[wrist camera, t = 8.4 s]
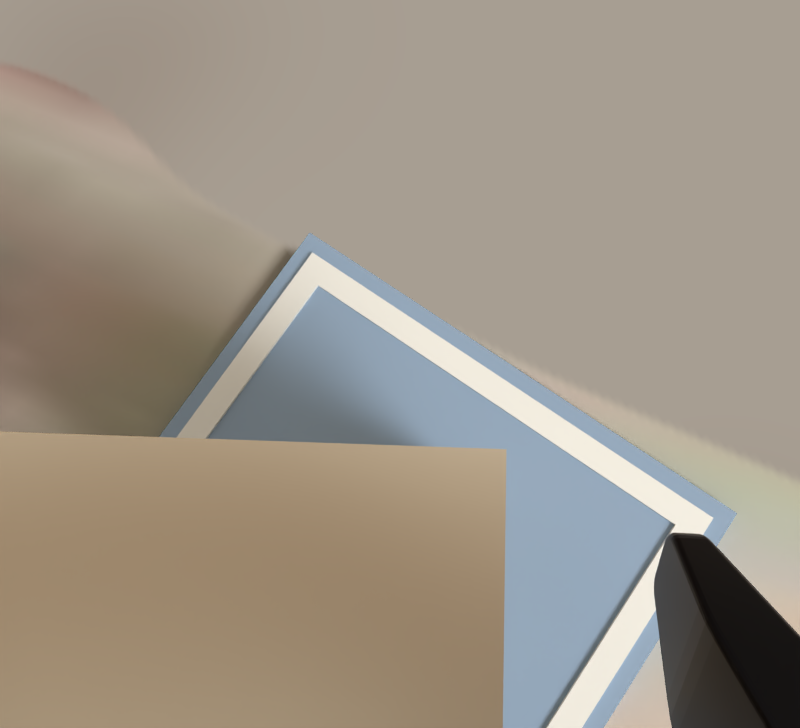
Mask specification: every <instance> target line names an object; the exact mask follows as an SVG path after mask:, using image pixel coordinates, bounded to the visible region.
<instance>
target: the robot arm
mask: <svg viewBox="0 0 800 728" xmlns="http://www.w3.org/2000/svg"><path fill="white" fill-rule="evenodd" d="M654 599H655V607H656V614H657V622H658V630H659V638H660V646H661V654H662V661H663V669H664V677H665V685H666V693H667V700H668V707H669V714H670V720H671V725H672V728H800V636H799V634H798V633H797V632H796V631H795V630H794V629H793V628H792V627H791V626H790V625H789V624H788V623H787V622H786V621H785V619H784V618H783V617H782V616H781V615H780V614H779V613H778V612H777V611H776V610H775V609H774V608H773V607H772V606H771V605H770V603H769V602H768V601H767V600H766V599H765V598H764V597H763V596H762V595H761V594H760V593H759V592H758V591H757V590H756V588H755V587H754V586H753V585H752V584H751V583H750V582H749V581H748V580H747V579H746V578H745V577H744V576H743V575H742V573H741V572H740V571H739V570H738V569H737V568H736V567H735V566H734V565H733V564H732V563H731V562H730V561H729V560H728V559H727V557H726V556H725V555H724V554H723V553H722V552H721V551H720V550H719V549H718V548H717V547H716V546H715V545H714V544H713V542H712V541H711V540H710V539H709V538H707V537H706V536H704V535H702V534H694V533H676V532H674V533H671V534H669V535H668V536H667V538H666V540H665V543H664V546H663V550H662V553H661V557H660V560H659V564H658V567H657V570H656V574H655V579H654Z"/></svg>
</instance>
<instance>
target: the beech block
mask: <svg viewBox="0 0 800 728" xmlns="http://www.w3.org/2000/svg"><path fill="white" fill-rule="evenodd" d="M505 525H506V449H487V448H459V447H430V446H402V445H373V444H344V443H316V442H287V441H259V440H230V439H202V438H173V437H144V436H116V435H87V434H59V433H30V432H2V431H0V728H503V677H504V601H505Z"/></svg>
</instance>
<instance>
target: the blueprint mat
mask: <svg viewBox="0 0 800 728" xmlns="http://www.w3.org/2000/svg"><path fill="white" fill-rule="evenodd" d="M159 437H173V438H202V439H230V440H259V441H287V442H316V443H344V444H373V445H402V446H430V447H459V448H487V449H506V525H505V601H504V677H503V728H604V726H605V725H606V723H607V722H608V720H609V718H610V717H611V715H612V714H613V712H614V710H615V709H616V707H617V705H618V704H619V702H620V701H621V699H622V697H623V696H624V694H625V693H626V691H627V689H628V688H629V686H630V685H631V683H632V681H633V680H634V678H635V677H636V675H637V673H638V672H639V670H640V669H641V667H642V665H643V664H644V662H645V661H646V659H647V657H648V656H649V654H650V652H651V651H652V649H653V648H654V646H655V644H656V643H657V641H658V640H659V630H658V622H657V614H656V607H655V599H654V579H655V574H656V570H657V567H658V564H659V560H660V557H661V553H662V550H663V546H664V543H665V540H666V538H667V536H668V535H669V534H671V533H674V532H676V533H694V534H702V535H704V536H706V537H707V538H709V539H710V540H711V541H712V542H713V544H714V545H715V546H716V547H717V545H718V543H719V542H720V540H721V538H722V537H723V535H724V534H725V532H726V530H727V529H728V527H729V526H730V524H731V522H732V521H733V519H734V518H735V516H736V514H737V513H736V512H734V511H733V510H731V509H730V508H728V507H727V506H725V505H723V504H722V503H720V502H719V501H717V500H716V499H714V498H713V497H711V496H710V495H708V494H707V493H705V492H704V491H702V490H701V489H699V488H698V487H696V486H695V485H693V484H692V483H690V482H688V481H687V480H685V479H684V478H682V477H681V476H679V475H678V474H676V473H675V472H673V471H672V470H670V469H669V468H667V467H666V466H664V465H663V464H661V463H660V462H658V461H657V460H655V459H653V458H652V457H650V456H649V455H647V454H646V453H644V452H643V451H641V450H640V449H638V448H637V447H635V446H634V445H632V444H631V443H629V442H628V441H626V440H625V439H623V438H622V437H620V436H618V435H617V434H615V433H614V432H612V431H611V430H609V429H608V428H606V427H605V426H603V425H602V424H600V423H599V422H597V421H596V420H594V419H593V418H591V417H590V416H588V415H587V414H585V413H583V412H582V411H580V410H579V409H577V408H576V407H574V406H573V405H571V404H570V403H568V402H567V401H565V400H564V399H562V398H561V397H559V396H558V395H556V394H555V393H553V392H552V391H550V390H548V389H547V388H545V387H544V386H542V385H541V384H539V383H538V382H536V381H535V380H533V379H532V378H530V377H529V376H527V375H526V374H524V373H523V372H521V371H520V370H518V369H517V368H515V367H513V366H512V365H510V364H509V363H507V362H506V361H504V360H503V359H501V358H500V357H498V356H497V355H495V354H494V353H492V352H491V351H489V350H488V349H486V348H485V347H483V346H482V345H480V344H478V343H477V342H475V341H474V340H472V339H471V338H469V337H468V336H466V335H465V334H463V333H462V332H460V331H459V330H457V329H456V328H454V327H453V326H451V325H450V324H448V323H447V322H445V321H443V320H442V319H440V318H439V317H437V316H436V315H434V314H433V313H431V312H430V311H428V310H427V309H425V308H424V307H422V306H421V305H419V304H418V303H416V302H415V301H413V300H412V299H410V298H408V297H407V296H405V295H404V294H402V293H401V292H399V291H398V290H396V289H395V288H393V287H391V286H390V285H389V284H387V283H386V282H384V281H383V280H381V279H380V278H378V277H377V276H375V275H373V274H372V273H370V272H369V271H367V270H366V269H364V268H363V267H361V266H360V265H358V264H357V263H355V262H354V261H352V260H351V259H349V258H348V257H346V256H344V255H343V254H341V253H340V252H338V251H337V250H335V249H334V248H332V247H331V246H329V245H328V244H326V243H325V242H323V241H322V240H320V239H319V238H317V237H316V236H314V235H313V234H311V233H309V234H308V236H307V237H306V238H305V240H304V241H303V242H302V244H301V245H300V247H299V248H298V249H297V250H296V252H295V253H294V254H293V256H292V257H291V259H290V260H289V261H288V263H287V264H286V265H285V267H284V268H283V269H282V271H281V272H280V273H279V275H278V276H277V278H276V279H275V280H274V282H273V283H272V284H271V286H270V287H269V288H268V290H267V291H266V292H265V294H264V295H263V297H262V298H261V299H260V301H259V302H258V303H257V305H256V306H255V307H254V309H253V310H252V311H251V313H250V314H249V315H248V317H247V318H246V320H245V321H244V322H243V324H242V325H241V326H240V328H239V329H238V330H237V332H236V333H235V334H234V336H233V337H232V339H231V340H230V341H229V343H228V344H227V345H226V347H225V348H224V349H223V351H222V352H221V353H220V355H219V356H218V358H217V359H216V360H215V362H214V363H213V364H212V366H211V367H210V368H209V370H208V371H207V372H206V374H205V375H204V376H203V378H202V379H201V381H200V382H199V383H198V385H197V386H196V387H195V389H194V390H193V391H192V393H191V394H190V395H189V397H188V398H187V400H186V401H185V402H184V404H183V405H182V406H181V408H180V409H179V410H178V412H177V413H176V414H175V416H174V417H173V419H172V420H171V421H170V423H169V424H168V425H167V427H166V428H165V429H164V431H163V432H162V433H161V435H160V436H159Z"/></svg>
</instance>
